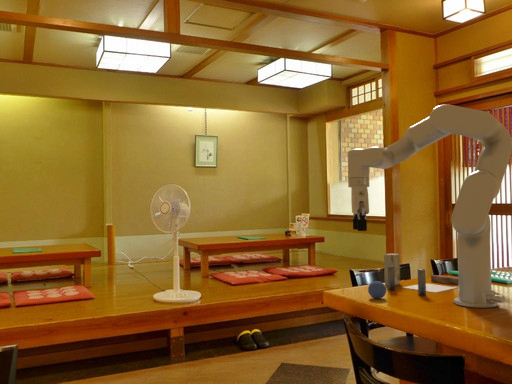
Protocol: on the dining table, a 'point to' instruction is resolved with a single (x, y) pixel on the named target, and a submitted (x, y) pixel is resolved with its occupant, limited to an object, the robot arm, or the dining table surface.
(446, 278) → the strip
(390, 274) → the far post
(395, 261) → the skincare box
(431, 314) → the dining table surface
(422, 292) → the near post
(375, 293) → the ball
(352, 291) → the dining table surface
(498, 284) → the dining table surface
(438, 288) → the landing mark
